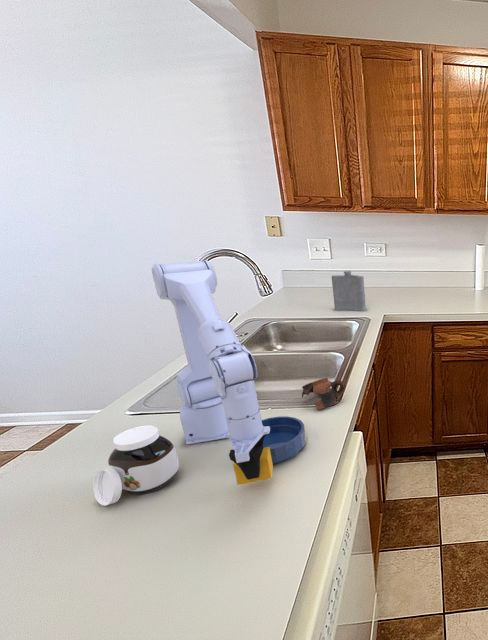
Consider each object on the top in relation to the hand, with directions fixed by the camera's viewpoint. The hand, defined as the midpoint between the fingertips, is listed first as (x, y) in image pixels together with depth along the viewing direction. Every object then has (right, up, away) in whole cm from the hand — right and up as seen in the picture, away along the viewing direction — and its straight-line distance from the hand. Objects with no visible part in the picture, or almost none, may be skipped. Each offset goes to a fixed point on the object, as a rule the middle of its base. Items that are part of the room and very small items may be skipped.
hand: (254, 470), depth 80 cm
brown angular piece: (+1, +9, +35) cm, 36 cm away
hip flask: (-21, +44, +125) cm, 134 cm away
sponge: (0, -1, +1) cm, 1 cm away
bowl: (-3, +1, +13) cm, 14 cm away
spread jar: (-23, -4, 0) cm, 23 cm away
